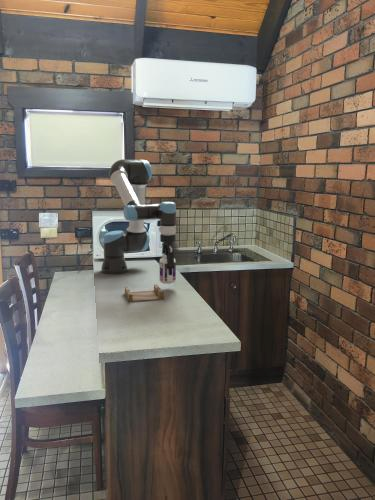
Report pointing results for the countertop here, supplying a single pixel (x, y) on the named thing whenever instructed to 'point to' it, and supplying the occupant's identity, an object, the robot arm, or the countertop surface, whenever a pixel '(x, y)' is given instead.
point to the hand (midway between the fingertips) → (167, 278)
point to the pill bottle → (164, 271)
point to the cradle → (144, 295)
